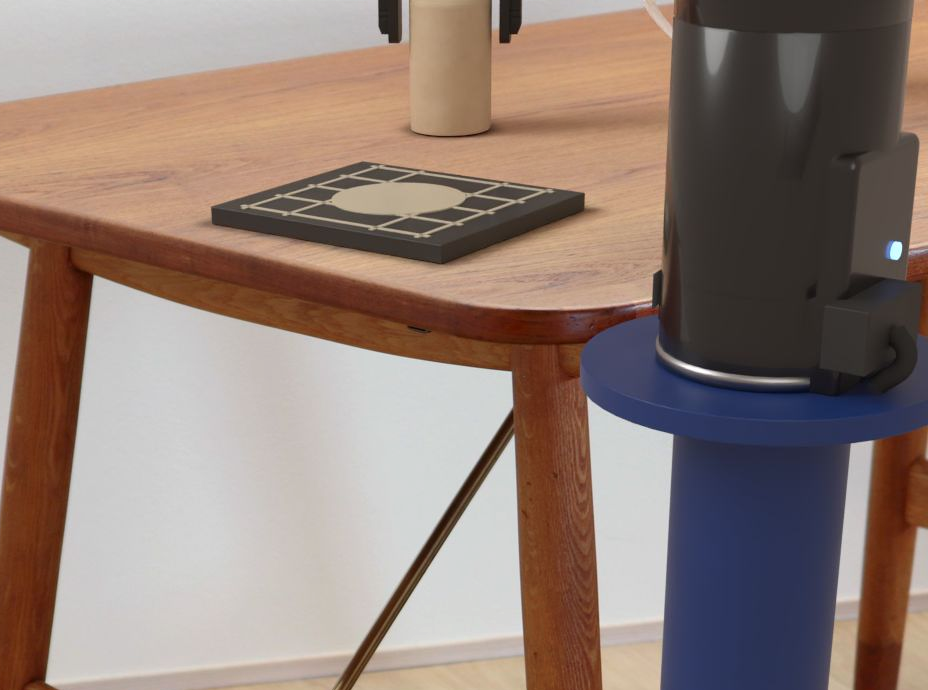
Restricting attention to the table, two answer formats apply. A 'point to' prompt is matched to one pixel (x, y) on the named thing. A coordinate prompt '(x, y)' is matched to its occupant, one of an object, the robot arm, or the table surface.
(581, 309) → the table surface
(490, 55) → the candle
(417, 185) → the board
